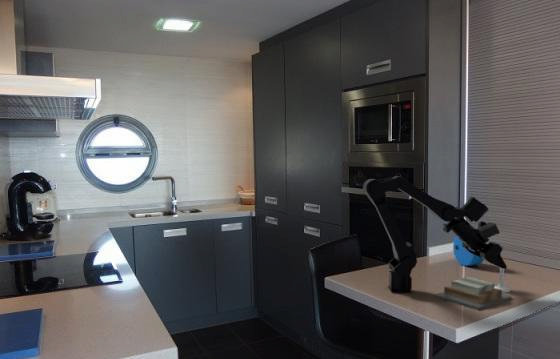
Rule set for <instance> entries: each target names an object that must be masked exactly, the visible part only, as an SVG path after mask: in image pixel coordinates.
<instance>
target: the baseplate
mask: <svg viewBox="0 0 560 359" xmlns="http://www.w3.org/2000/svg"><path fill="white" fill-rule="evenodd" d="M433 295H434V298H436V299H439V300H444V301H446V302H449V303H452V304H453V303H454V304H456V305H459V306H463V307H466V308H469V307H470V308H469V309H472V308H473V310H476V311H480V310H483V309H486V308H489V307H491V306H494V305H498V304H500V303H503V302H507V301H510V300H512V296H511V295H508V294H505V293H502V296H501V297H500V298H497V299H494V300H491V301H488V302H485V303H482V304H477V303H474V302H470V301H467V300H463V299H460V298H456V297H453V296H450V295H446V294H444V291H442V292H438V293H435V294H433Z"/></svg>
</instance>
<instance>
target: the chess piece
mask: <svg viewBox="0 0 560 359" xmlns="http://www.w3.org/2000/svg"><path fill="white" fill-rule="evenodd" d="M498 269H499V272H497V273H498V275H500V276H499V281H498V284H497V285H494V288H496V289H500V290H502V293H510V292H511V290H510V288H509V287H507V286H506V284H505V276H504V275H506V272H505V270H506V269H503V268H501V267H498Z"/></svg>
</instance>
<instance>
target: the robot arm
mask: <svg viewBox="0 0 560 359" xmlns="http://www.w3.org/2000/svg"><path fill="white" fill-rule="evenodd" d="M362 189H363V192H364V193H365V195H366V196H367V198H368V199H369V200H370V201H369V202H371V203H372V204H373V206H374V207H375V209H376V212H377V214H378V215H379V218H380V220H381V222H382V224H383V227H384V229H385V231H386V233H387V236H388V237H389V240H390V242H391V245H392V246H391V247H392V252H393V256H394V257H393V258H392V259H391V260H390V261H388V263H387V264H388V268H389V272H388V276H389V277H388V279H389V280H388V284H389V285H387V288H388V289H389V291H390V292H391V293H392V294H393V293H394V294H395V293H399V294H403V293H407V294H408V293H409V294H410V293H411V294H412V289H413V288H412V287H413V285H412V284H413V282H412V280H413V278H412V276H411V273H412V270H413V269H414V268H416V266H417V263H418V259H417V257H419V256H418V255H417V253H416V252H415V248H414V246H413V244H412V243H410V242H408V241H405V239H404V238H403V235H402V233H401V231H400V228H399V226H398V225H397V223H396V220H395V218H394V215H393V214H392V213H393V212H392V211H391V209H390V207H389V205H388V202H387V194H386V193H387V192H392V191H394V190H399V191H400V192H402V193H404V194H405V195H407V196H409V197H410V198H412V199H413V200H415V201H417V202H418V203H420V204H421V205H422V206H424V207H426V209H427V210H428V211H429V212H430V213H432V215H433V216H435V218H437V219H439V220H441V221H443V222H447V223H442V226H443V228H442V231H443V232H444V233H447V234H449V233H450V232H451V231H452V233H454V234H455V236H456V237H457V236H458V237H459V240H460V241H462V242H463V243H462V247H463V248H464V249H465V250H466V251H468V252H470V253H472V254H474V255H476V256H478V257H480V258H483V259H484V261H485V262H487V263H489V264H491V265H495V266H497V267H498V268H499V267H501V268H503V269H505V270H506V269H507V268H508V266H507V264H506V262H505V260H504V259H503V257H502V254H501V253H502V251H503V250H504V247H503V246H502V245H501V244H499V243H497V242H494V241H490V238H491V237H494V236H495V235H499V234H500V230H499V228H498V226H497V224H496V223H494V222H487V223H486V221H483V220H481V221H480V222H478V221H479V220H480V219H481V218H482V217H483V216H485V214H487V213H488V212H489V208H488V206H487V205H486V204H485V203H483V202H481V201H480V200H479V199H477V198H476V197H475V196H470V197H469V199H468V200H467V201H466V202H465V203H464V204H463V205H462V206H461V207H459V206H454V205H452V204H451V203H448V202H445V201H444V200H440V199H438V198H435V197H433V196H432V195H430V194H428V193H426V191H424V190H422V189H421V188H419V187H418V186H416V185H414V184H412V183H411V182H409V181H408V180H407V179H405V178H404V177H403V176H400V175H398V176H397V175H395V176H393V177H388V178H383V179H375V178H369V179H367V180H366V181H364V182H363V185H362ZM472 222H475V223H478V225H477V228H475V227H474V226H473V225H472V224H470V223H472ZM489 241H490V242H489ZM468 248H469V249H470V250H469V249H468Z"/></svg>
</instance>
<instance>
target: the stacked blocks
mask: <svg viewBox="0 0 560 359" xmlns="http://www.w3.org/2000/svg"><path fill="white" fill-rule="evenodd" d="M494 287H495V283H494V282H490V281H487V280H482V279H480V278H474V277H471V276H467V277H462V278H459V279H456V280H451V284H450V285H448V286H444V287H443V289H444V290H443V292H444V294H446V295H450V296H453V297H456V298H460V299H463V300H467V301H470V302H474V303H477V304H482V303H485V302H488V301H491V300H494V299H497V298H500V297H501V296H502V294H503V292H502V290H500V289H496V288H494Z"/></svg>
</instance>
